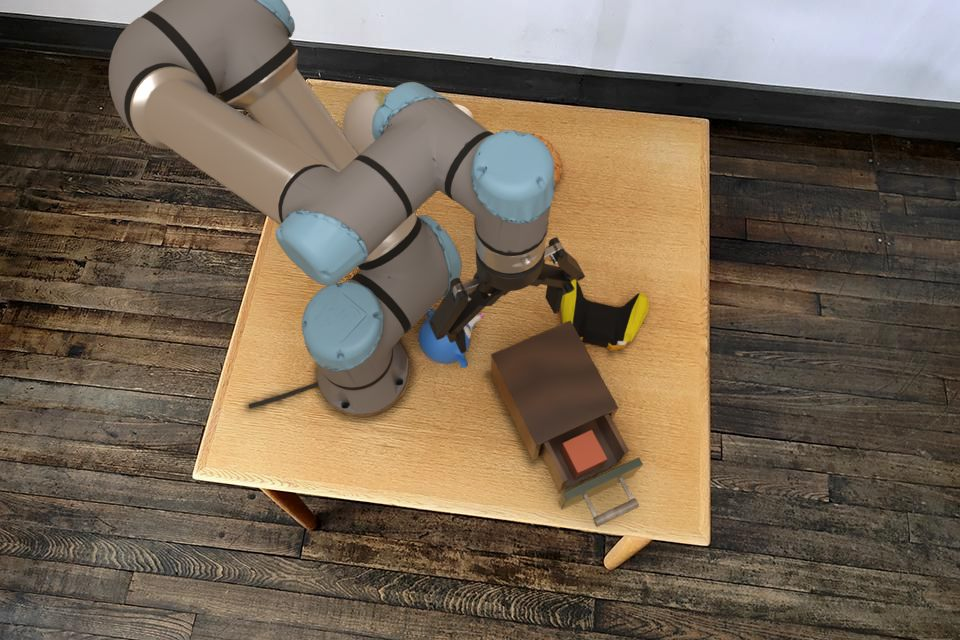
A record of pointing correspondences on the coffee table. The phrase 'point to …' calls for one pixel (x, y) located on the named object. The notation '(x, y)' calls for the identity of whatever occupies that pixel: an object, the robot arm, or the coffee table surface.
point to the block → (583, 454)
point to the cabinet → (550, 386)
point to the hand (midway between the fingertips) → (506, 324)
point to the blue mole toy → (444, 343)
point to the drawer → (615, 455)
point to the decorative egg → (362, 118)
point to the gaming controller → (604, 318)
